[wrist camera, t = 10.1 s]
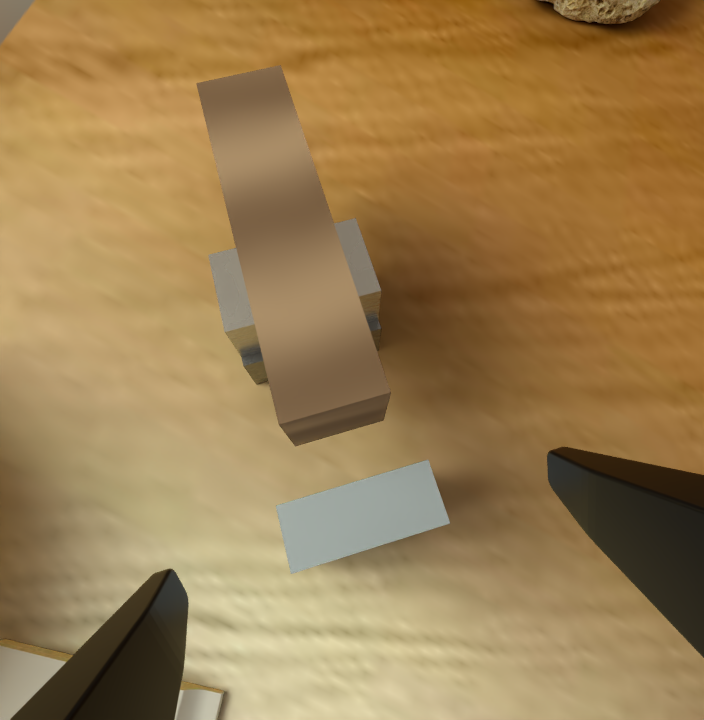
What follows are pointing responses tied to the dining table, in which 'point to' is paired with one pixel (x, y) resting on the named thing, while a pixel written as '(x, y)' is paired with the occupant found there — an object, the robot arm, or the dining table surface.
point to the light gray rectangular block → (361, 516)
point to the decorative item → (602, 9)
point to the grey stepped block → (239, 310)
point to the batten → (292, 261)
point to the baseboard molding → (37, 665)
